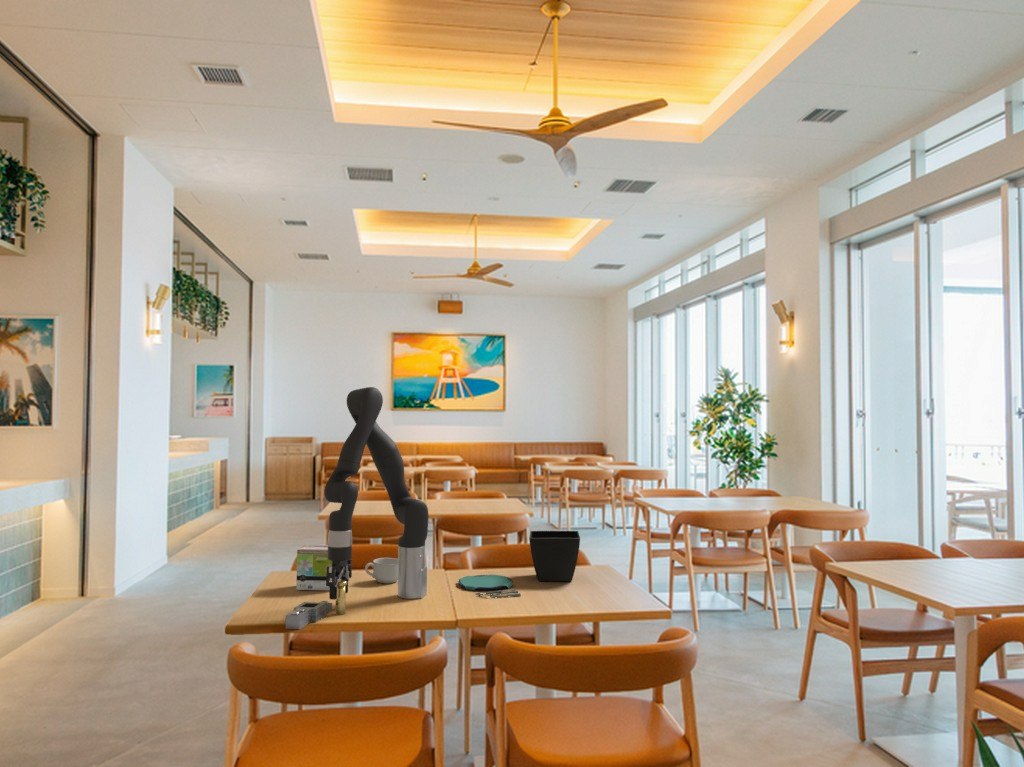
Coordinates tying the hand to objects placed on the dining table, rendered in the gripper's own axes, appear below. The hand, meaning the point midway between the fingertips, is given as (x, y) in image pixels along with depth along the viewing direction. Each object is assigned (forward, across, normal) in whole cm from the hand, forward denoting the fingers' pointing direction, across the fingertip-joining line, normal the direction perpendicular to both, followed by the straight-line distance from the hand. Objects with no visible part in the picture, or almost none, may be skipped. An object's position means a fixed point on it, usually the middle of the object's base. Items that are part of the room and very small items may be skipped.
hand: (338, 596), depth 242 cm
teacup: (+5, +45, +2) cm, 45 cm away
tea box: (+6, +32, +21) cm, 38 cm away
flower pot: (+4, +64, -60) cm, 88 cm away
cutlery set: (+5, +43, -39) cm, 58 cm away
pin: (+6, 0, -1) cm, 6 cm away
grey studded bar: (+6, -7, +6) cm, 11 cm away
